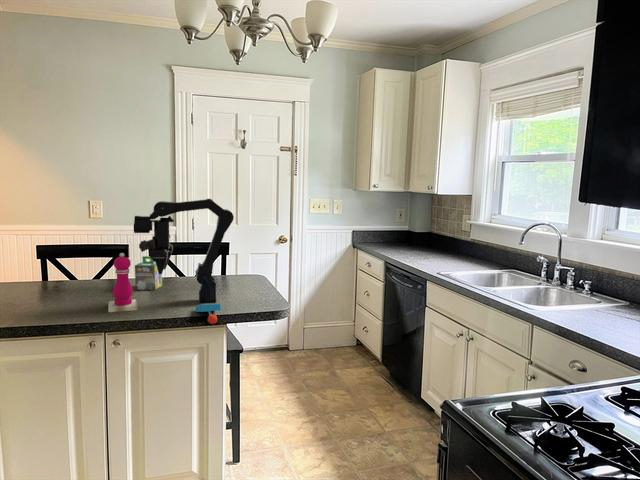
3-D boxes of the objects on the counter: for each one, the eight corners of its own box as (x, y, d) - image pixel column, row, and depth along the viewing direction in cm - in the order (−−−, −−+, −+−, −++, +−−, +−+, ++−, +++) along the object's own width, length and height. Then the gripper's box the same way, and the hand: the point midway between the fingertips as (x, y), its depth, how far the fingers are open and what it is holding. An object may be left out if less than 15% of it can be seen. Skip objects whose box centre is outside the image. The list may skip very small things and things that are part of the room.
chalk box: (162, 286, 217) (162, 254, 215) (155, 290, 208) (154, 258, 206) (142, 285, 217) (142, 253, 215) (134, 290, 208) (134, 257, 206)
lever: (196, 323, 179) (203, 325, 163) (195, 305, 180) (202, 305, 164) (214, 322, 182) (223, 323, 165) (213, 304, 183) (222, 303, 166)
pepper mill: (128, 306, 177) (127, 254, 174) (109, 305, 177) (108, 254, 174) (136, 301, 184) (135, 251, 182) (117, 300, 184) (116, 251, 182)
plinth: (135, 303, 187) (135, 299, 187) (137, 310, 178) (137, 306, 178) (108, 305, 183) (108, 301, 183) (108, 312, 174) (108, 308, 174)
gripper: (145, 230, 193) (145, 267, 195) (135, 235, 175) (136, 276, 177) (173, 230, 195) (173, 267, 197) (166, 236, 177) (166, 276, 179)
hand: (162, 271), depth 187 cm, fingers open, 9 cm apart
